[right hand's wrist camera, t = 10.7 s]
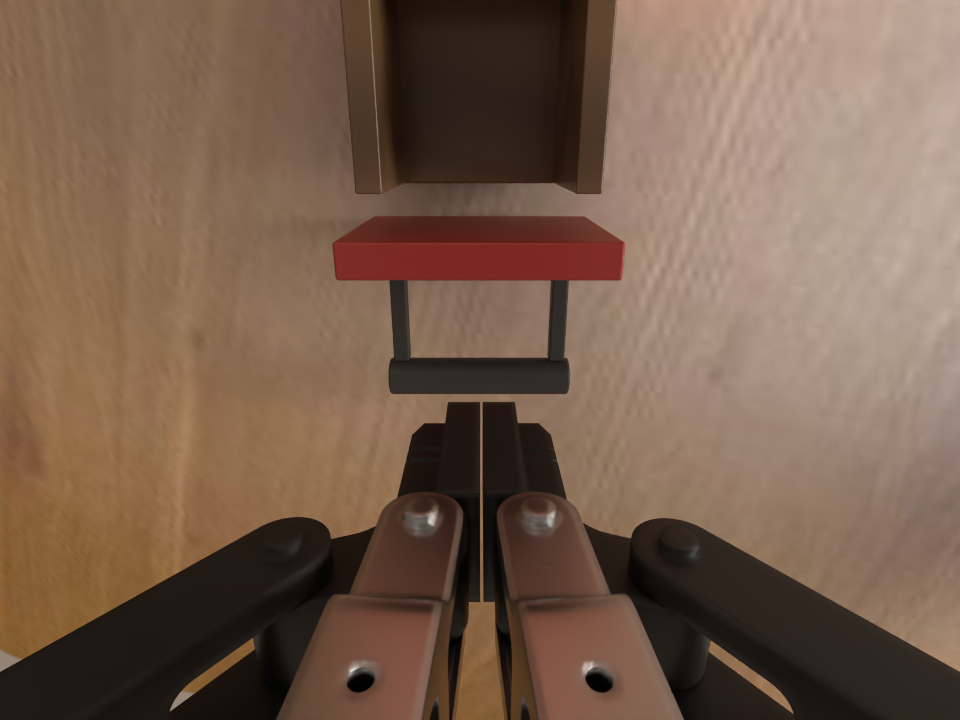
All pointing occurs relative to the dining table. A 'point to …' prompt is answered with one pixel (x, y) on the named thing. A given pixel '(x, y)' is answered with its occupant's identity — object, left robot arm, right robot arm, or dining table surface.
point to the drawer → (478, 160)
